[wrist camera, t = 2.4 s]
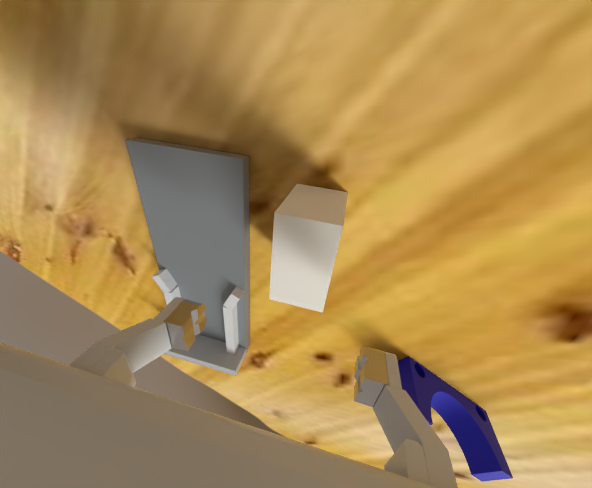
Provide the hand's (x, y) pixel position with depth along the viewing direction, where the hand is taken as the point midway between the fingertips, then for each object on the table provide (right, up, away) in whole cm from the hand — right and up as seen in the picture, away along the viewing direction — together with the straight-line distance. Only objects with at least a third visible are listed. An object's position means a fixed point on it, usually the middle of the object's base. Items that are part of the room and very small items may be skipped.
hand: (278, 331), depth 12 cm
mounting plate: (-9, +2, +14) cm, 16 cm away
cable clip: (+17, -13, +16) cm, 26 cm away
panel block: (+3, +6, +8) cm, 11 cm away
